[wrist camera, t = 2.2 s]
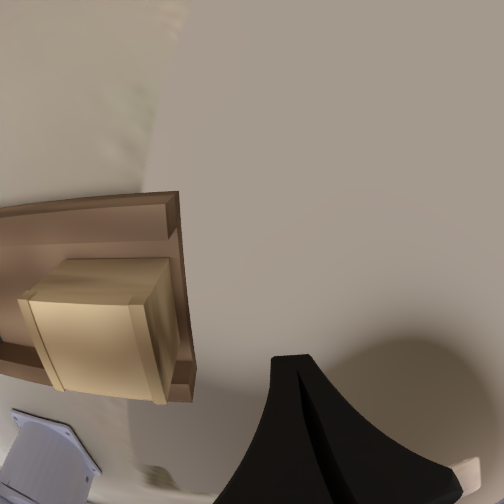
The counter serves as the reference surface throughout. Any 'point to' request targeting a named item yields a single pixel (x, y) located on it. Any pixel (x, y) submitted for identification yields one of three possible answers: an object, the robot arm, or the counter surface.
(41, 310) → the box
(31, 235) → the bay
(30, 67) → the counter surface
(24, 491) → the robot arm
